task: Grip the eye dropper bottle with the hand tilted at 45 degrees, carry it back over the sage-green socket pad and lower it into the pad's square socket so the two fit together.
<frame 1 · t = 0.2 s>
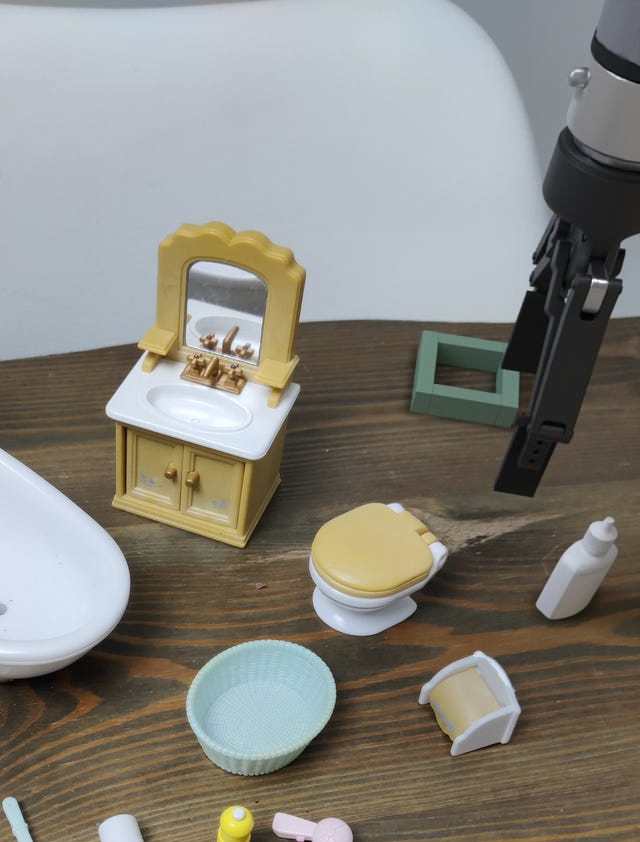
hand: (515, 426, 72), 25 cm above the table, tool pointing down, fingers open, 13 cm apart
eye dropper bottle: (560, 606, 94), on the table
socket pad: (461, 392, 112), on the table
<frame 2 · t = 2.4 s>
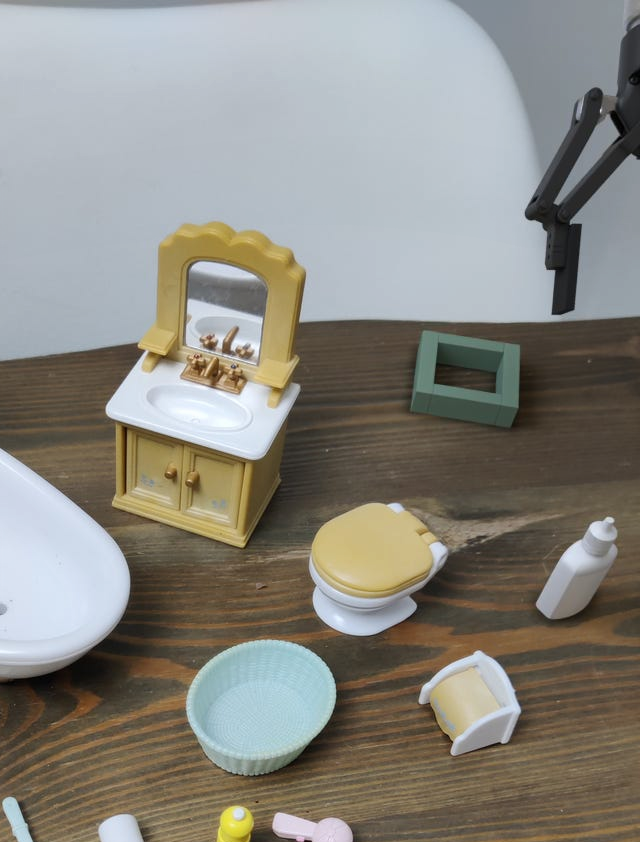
nothing on the table moved.
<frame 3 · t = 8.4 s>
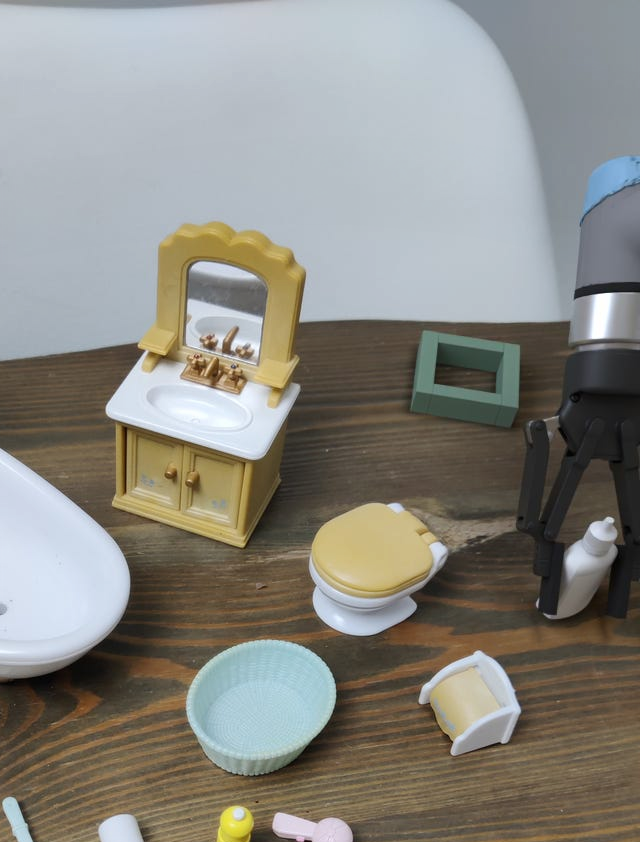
hand: (581, 614, 89), 3 cm above the table, tool tilted 45°, fingers closed on eye dropper bottle, 5 cm apart
eye dropper bottle: (560, 606, 94), on the table, touching gripper
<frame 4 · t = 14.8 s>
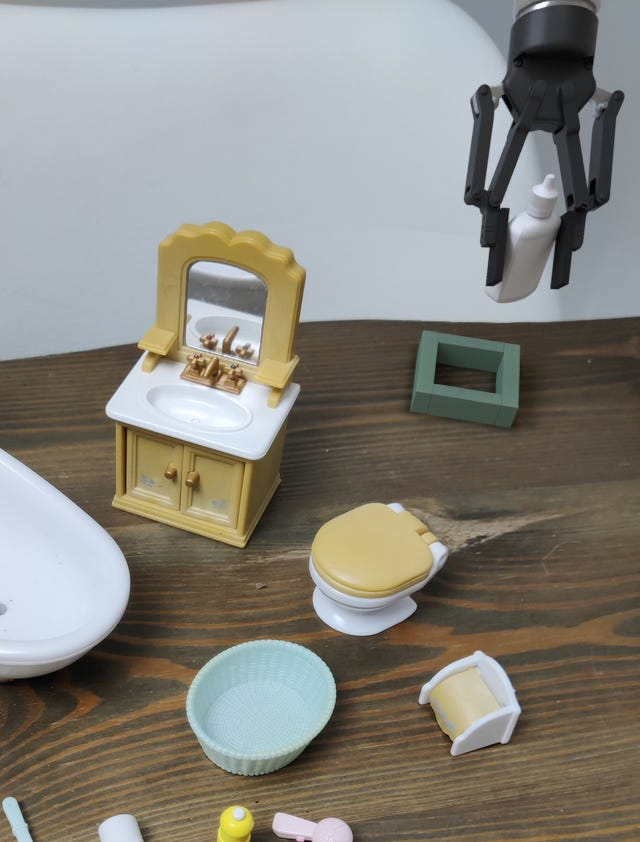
hand: (526, 284, 93), 18 cm above the table, tool tilted 45°, fingers closed on eye dropper bottle, 5 cm apart
eye dropper bottle: (509, 293, 98), point 15 cm above the table, touching gripper
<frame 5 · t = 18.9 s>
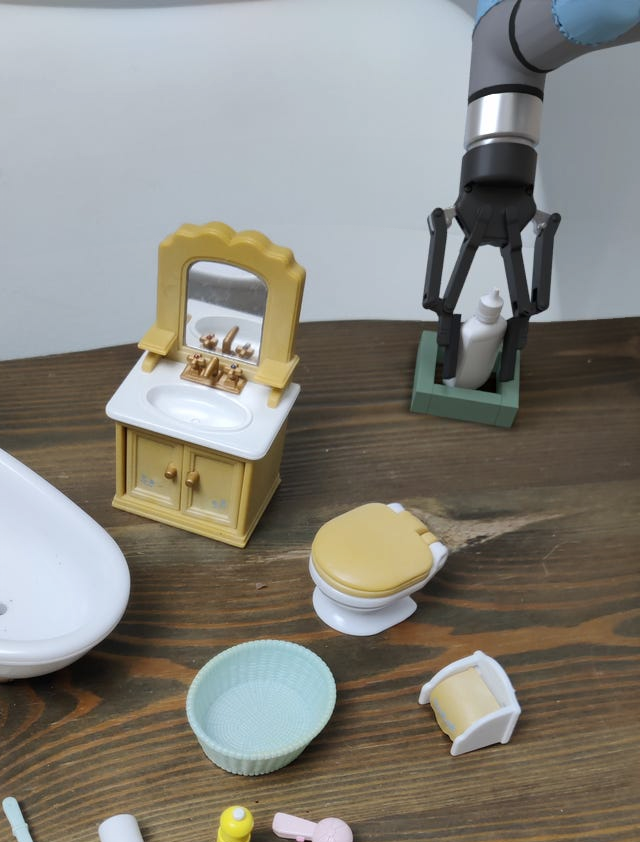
hand: (477, 379, 106), 5 cm above the table, tool tilted 45°, fingers closed on eye dropper bottle, 5 cm apart
eye dropper bottle: (464, 382, 111), point 1 cm above the table, touching gripper
when the fingers open (5 cm above the table, at t = 21.3 s): eye dropper bottle drops 2 cm, resting in socket pad.
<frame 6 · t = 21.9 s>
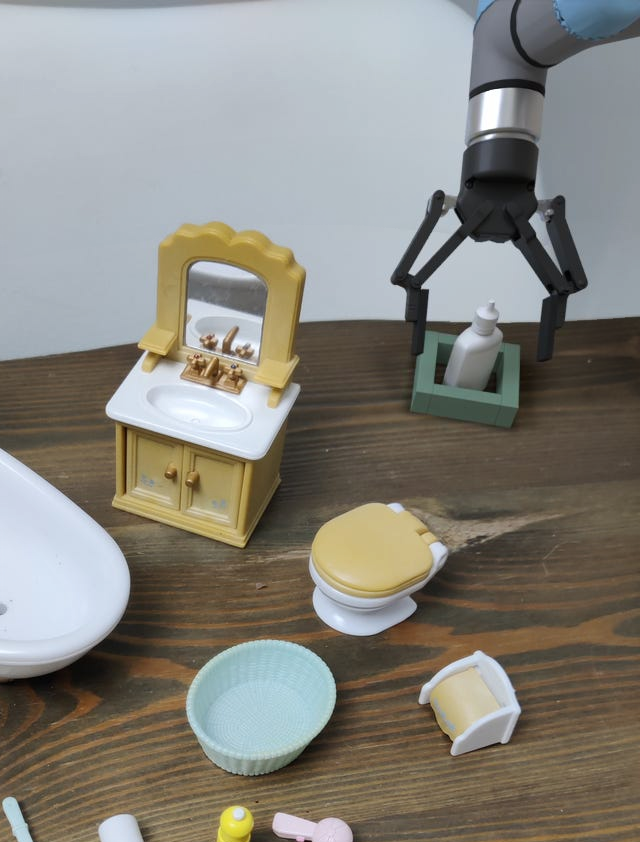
hand: (480, 357, 105), 7 cm above the table, tool tilted 45°, fingers open, 13 cm apart
eye dropper bottle: (461, 393, 112), resting in socket pad
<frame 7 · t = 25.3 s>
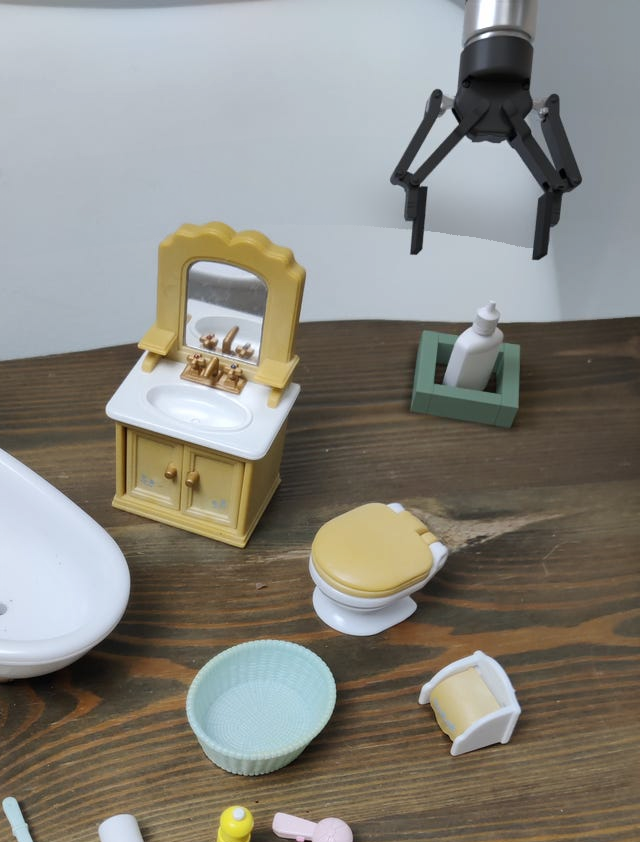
hand: (477, 255, 108), 11 cm above the table, tool tilted 45°, fingers open, 13 cm apart
nothing on the table moved.
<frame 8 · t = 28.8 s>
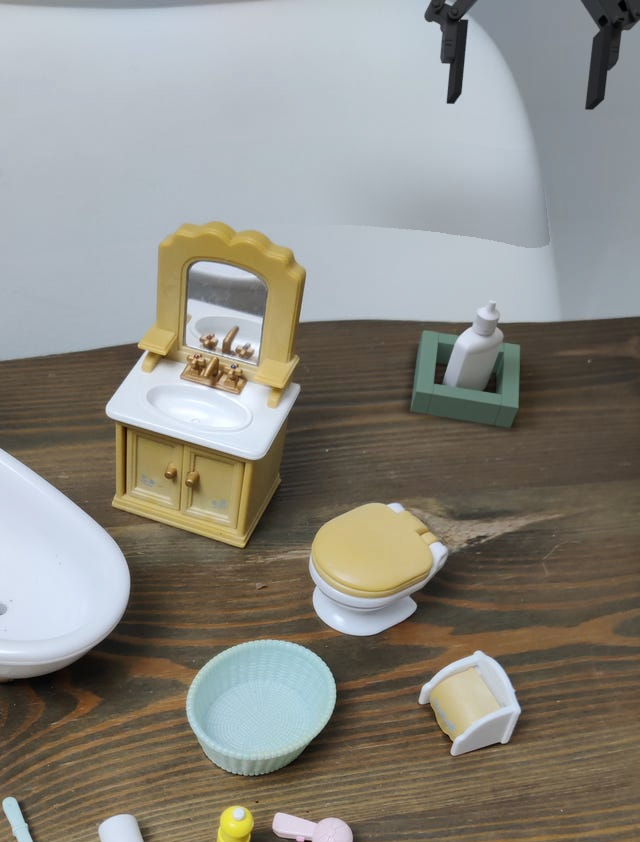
hand: (524, 102, 95), 28 cm above the table, tool tilted 45°, fingers open, 13 cm apart
nothing on the table moved.
at the end: eye dropper bottle 0.1 cm off-centre in the socket pad, point 0.0 cm above the socket pad's base; eye dropper bottle tilted 0°; the gripper is holding nothing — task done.
